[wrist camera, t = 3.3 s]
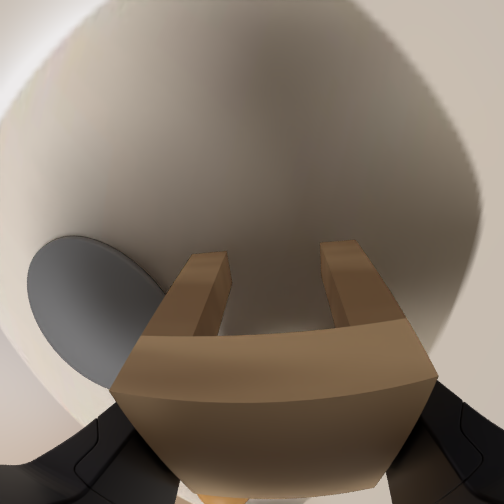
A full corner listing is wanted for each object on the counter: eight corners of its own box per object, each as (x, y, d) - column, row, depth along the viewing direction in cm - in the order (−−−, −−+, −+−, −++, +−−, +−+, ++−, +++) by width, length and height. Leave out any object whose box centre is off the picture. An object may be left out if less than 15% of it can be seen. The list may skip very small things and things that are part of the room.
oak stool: (347, 360, 10) (374, 487, 5) (221, 368, 11) (193, 493, 6) (355, 239, 8) (438, 375, 3) (192, 253, 9) (109, 390, 4)
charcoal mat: (207, 396, 13) (205, 402, 12) (75, 378, 14) (72, 383, 13) (153, 222, 9) (148, 225, 9) (11, 247, 10) (6, 250, 10)
